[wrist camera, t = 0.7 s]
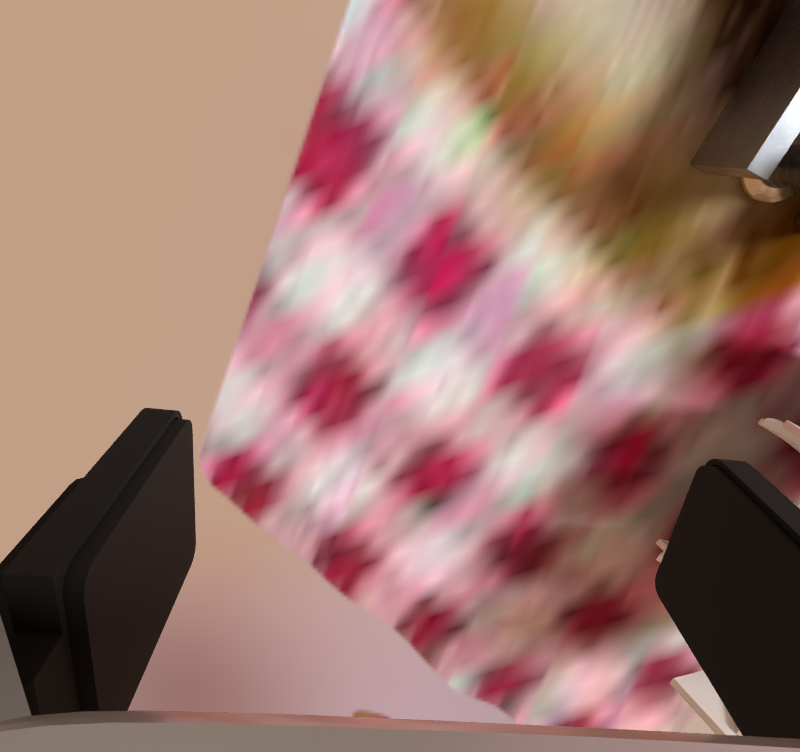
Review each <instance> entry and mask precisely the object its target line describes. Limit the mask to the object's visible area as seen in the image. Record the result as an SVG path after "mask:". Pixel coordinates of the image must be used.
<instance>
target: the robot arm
mask: <svg viewBox="0 0 800 752" xmlns="http://www.w3.org/2000/svg"><path fill="white" fill-rule="evenodd" d="M193 467H194V466H193V434H192V423H191V421H190V420H184V419H182V416H181V413H180V412H179V411H174V410H163V409H151V408H144V409H143V410H142V411H141V412H140V413H139V414H138V415H137V417H136V418H135V419H134V420H133V421H132V422H131V423H130V425H129V426H128V427H127V428H126V429H125V430H124V432H123V433H122V434H121V435H120V436H119V437H118V438H117V440H116V441H115V442H114V443H113V445H112V446H111V447H110V448H109V449H108V450H107V451H106V452H105V454H104V455H103V456H102V457H101V458H100V459H99V461H98V462H97V463H96V464H95V465H94V466H93V467H92V469H91V470H90V471H89V472H88V474H86V476H85V477H84V478H80V479H76V480H75V481H74V482H73V483H72V484H70V485H69V486H68V488H67V489H66V490H65V491H64V492H63V493H62V495H61V496H60V497H59V498H58V499H57V500H56V501H55V502H54V503H53V505H52V506H51V507H50V508H49V509H48V510H47V511H46V513H45V514H44V515H43V516H42V517H41V518H40V519H39V520H38V521H37V523H36V524H35V525H34V526H33V527H32V528H31V530H30V531H29V532H28V533H27V534H26V535H25V536H24V537H23V539H22V540H21V541H20V542H19V543H18V544H17V545H16V547H15V548H14V549H13V550H12V551H11V552H10V553H9V554H8V555H7V557H6V558H5V559H4V560H3V561H2V562H1V563H0V752H800V509H799V508H798V507H797V506H796V505H795V504H793V503H792V502H791V501H790V500H789V499H788V498H787V497H786V496H784V495H783V494H782V493H781V492H780V491H779V490H778V489H777V488H776V487H774V486H773V485H772V484H771V483H770V482H769V481H768V480H767V479H765V478H764V477H763V476H762V475H761V474H760V473H759V472H758V471H756V470H755V469H754V468H753V467H752V466H751V465H750V464H748V463H746V462H743V461H733V460H722V459H712V460H709V461H708V462H707V463H706V464H705V466H704V465H703V466H701V467H699V468H698V469H697V471H696V473H695V476H694V478H693V481H692V484H691V486H690V489H689V491H688V494H687V496H686V499H685V502H684V504H683V507H682V509H681V512H680V515H679V517H678V520H677V522H676V525H675V528H674V530H673V533H672V535H671V538H670V540H669V543H668V546H667V548H666V551H665V553H664V556H663V559H662V561H661V564H660V566H659V569H658V572H657V574H656V578H655V586H656V591H657V594H658V596H659V598H660V600H661V601H662V603H663V605H664V606H665V608H666V610H667V611H668V613H669V614H670V616H671V618H672V619H673V621H674V623H675V624H676V626H677V628H678V629H679V631H680V633H681V634H682V636H683V638H684V639H685V641H686V643H687V644H688V646H689V648H690V649H691V651H692V653H693V654H694V656H695V658H696V659H697V661H698V663H699V664H700V666H701V668H702V669H703V671H704V673H705V674H706V676H707V677H708V679H709V681H710V682H711V684H712V686H713V687H714V689H715V691H716V692H717V694H718V696H719V697H720V699H721V701H722V702H723V704H724V706H725V707H726V709H727V711H728V712H729V714H730V716H731V717H732V719H733V721H734V722H735V724H736V726H737V727H738V729H739V731H740V732H741V734H742V736H737V735H719V734H701V733H700V734H699V733H682V732H662V731H642V730H622V729H602V728H583V727H562V726H541V725H520V724H497V723H478V722H477V723H476V722H457V721H433V720H409V719H387V718H363V717H339V716H315V715H294V714H265V713H264V714H263V713H227V712H188V711H187V712H186V711H127V710H128V708H129V706H130V703H131V701H132V699H133V697H134V694H135V692H136V689H137V687H138V685H139V683H140V680H141V678H142V676H143V674H144V671H145V669H146V667H147V664H148V662H149V660H150V658H151V655H152V653H153V651H154V649H155V646H156V644H157V642H158V639H159V637H160V635H161V632H162V630H163V628H164V626H165V623H166V621H167V619H168V617H169V614H170V612H171V610H172V607H173V605H174V603H175V600H176V598H177V596H178V593H179V591H180V589H181V587H182V585H183V582H184V580H185V578H186V575H187V573H188V571H189V568H190V566H191V564H192V561H193V558H194V553H195V546H196V545H195V544H196V534H195V500H194V468H193Z"/></svg>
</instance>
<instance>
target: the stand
mask: <svg viewBox="0 0 800 752" xmlns="http://www.w3.org/2000/svg"><path fill="white" fill-rule="evenodd" d="M739 180H740V184H741V187H742V189H743V191H744V192H745V193H746V194H747V195H748V196H749V197H751V198H752V199H755V200H758V201H763V202H778V201H782V200H784V199H787V198H788V197H790V196H792V195H793V194H795V193H796V192H797V191H800V132H799V134H798V135H797V137H796V138H795V140H794V141H793V143H792V144H791V146H790V147H789V149H788V150H787V152H786V153H785V155H784V156H783V158H782V159H781V161H780V162H779V164H778V165H777V167H776V168H775V170H774V171H773V173H772V174H771V176H770V177H769V179H768V180H759V179H750V178H741V177H739Z"/></svg>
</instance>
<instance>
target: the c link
mask: <svg viewBox="0 0 800 752" xmlns="http://www.w3.org/2000/svg"><path fill="white" fill-rule="evenodd" d="M799 132H800V0H791V1H790V3H789V4H788V6H787V8H786V9H785V11H784V13H783V14H782V16H781V17H780V19H779V21H778V22H777V24H776V26H775V27H774V29H773V30H772V32H771V34H770V35H769V37H768V39H767V40H766V42H765V43H764V45H763V47H762V48H761V50H760V52H759V53H758V55H757V56H756V58H755V60H754V61H753V63H752V65H751V66H750V68H749V69H748V71H747V73H746V74H745V76H744V78H743V79H742V81H741V82H740V84H739V86H738V87H737V89H736V91H735V92H734V94H733V95H732V97H731V99H730V100H729V102H728V104H727V105H726V107H725V108H724V110H723V112H722V113H721V115H720V117H719V118H718V120H717V121H716V123H715V125H714V126H713V128H712V130H711V131H710V133H709V134H708V136H707V138H706V139H705V141H704V143H703V144H702V146H701V147H700V149H699V151H698V152H697V154H696V156H695V157H694V159H693V160H692V162H691V165H693V166H694V167H696V168H698V169H700V170H702V171H703V172H705V173H707V174H713V175H722V176H731V177H741V178H750V179H759V180H768V179H769V177H770V176H771V174H772V173H773V171H774V170H775V168H776V167H777V165H778V164H779V162H780V161H781V159H782V158H783V156H784V155H785V153H786V152H787V150H788V149H789V147H790V146H791V144H792V143H793V141H794V140H795V138H796V137H797V135H798V134H799ZM794 222H795V223H797V224H799V225H800V213H799V215H798V216H797V218H796V219H795V220H794Z"/></svg>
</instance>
